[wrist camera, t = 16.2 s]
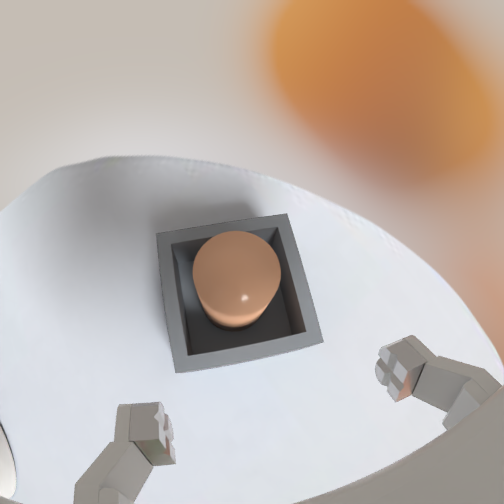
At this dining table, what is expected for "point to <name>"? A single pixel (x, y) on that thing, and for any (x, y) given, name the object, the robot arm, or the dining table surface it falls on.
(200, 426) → the dining table surface
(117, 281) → the dining table surface
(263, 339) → the gray open box
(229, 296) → the canister
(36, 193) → the dining table surface
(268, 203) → the dining table surface
